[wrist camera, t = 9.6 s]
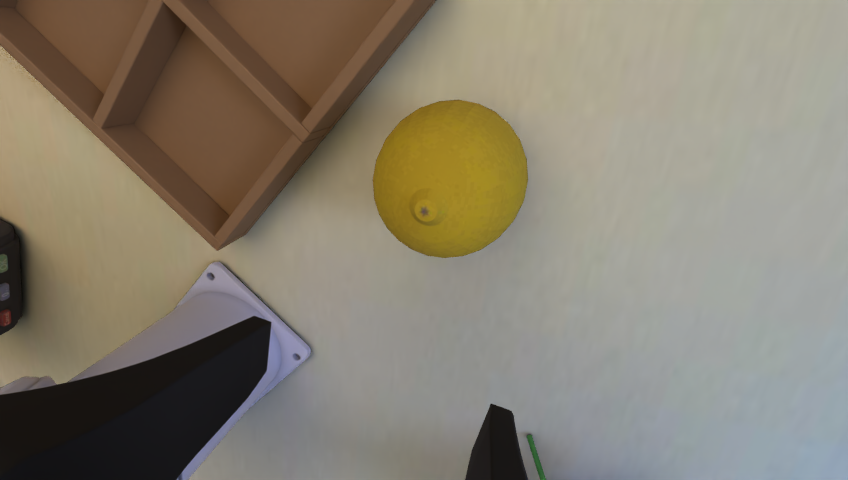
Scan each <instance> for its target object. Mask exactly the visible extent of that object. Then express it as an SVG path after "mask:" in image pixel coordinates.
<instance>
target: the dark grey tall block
mask: <svg viewBox="0 0 848 480" xmlns="http://www.w3.org/2000/svg"><path fill="white" fill-rule="evenodd" d="M21 317H22V297H21V275H20V253H19V237H18V236H17V235H16V234H14V230H13V227H12V226H11V225H10V224H8V223H6V222H4V221H2V220H0V335H1V334H3V333H5V332H7V331H9V330H10V329H12V328H13V327H14V326H15V325H16V324H17V323H18V320H19V319H20V318H21Z"/></svg>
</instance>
